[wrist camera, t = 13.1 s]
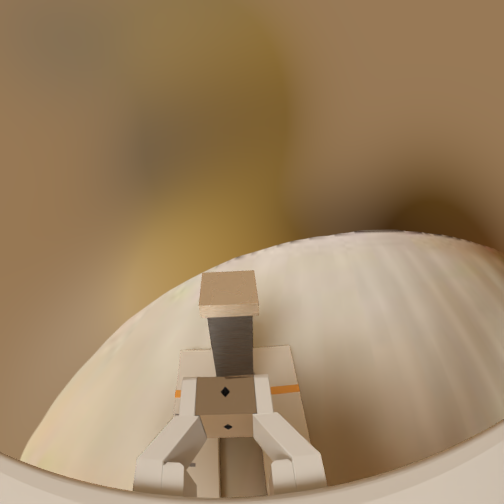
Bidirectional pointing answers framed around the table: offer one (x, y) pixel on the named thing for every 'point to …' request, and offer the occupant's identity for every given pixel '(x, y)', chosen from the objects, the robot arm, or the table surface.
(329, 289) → the table surface
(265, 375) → the robot arm
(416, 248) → the table surface
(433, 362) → the table surface
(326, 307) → the table surface
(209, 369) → the console
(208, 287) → the fader tab
